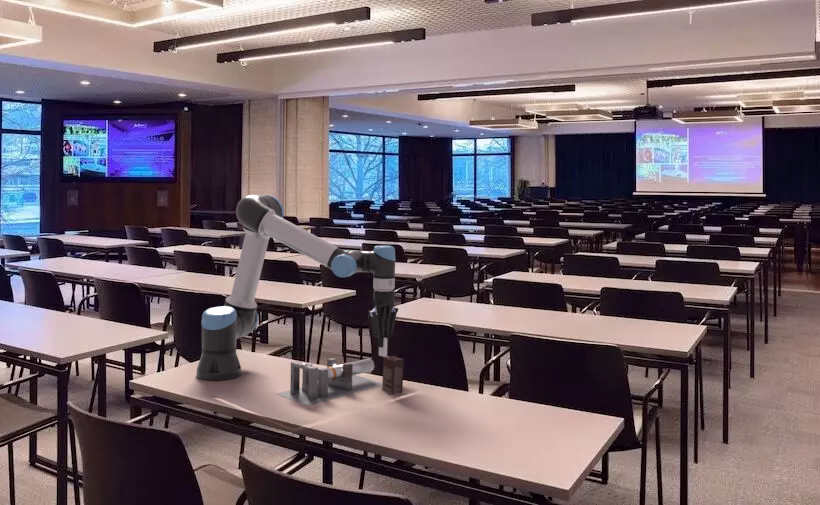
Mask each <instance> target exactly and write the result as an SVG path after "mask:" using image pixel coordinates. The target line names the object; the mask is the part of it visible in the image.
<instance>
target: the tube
mask: <svg viewBox="0 0 820 505" xmlns="http://www.w3.org/2000/svg"><path fill="white" fill-rule="evenodd" d="M350 363H352V376H353V375H357V376H358V375H361V374H366V373H368V372H369V373H370V372H372V371H373V370H374V368H375V362H374V361H373V359H372V358H366V359H365V358H364V359H361V360H357V361H352V362H350ZM325 368H326V369H328V382H329V381H334V380H337V379H341V378H343V364H337V366H333V367H325Z"/></svg>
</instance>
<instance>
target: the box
mask: <svg viewBox="0 0 820 505" xmlns="http://www.w3.org/2000/svg"><path fill="white" fill-rule="evenodd" d="M382 365H383V366H382V382H381V383H382V386H381V391H383V392H385V393H388V394H389V395H398V394H399V395H400V394H403V387H404V359H403V358H400V357H397V356H394V355H387V356H386V357H383V364H382Z"/></svg>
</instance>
